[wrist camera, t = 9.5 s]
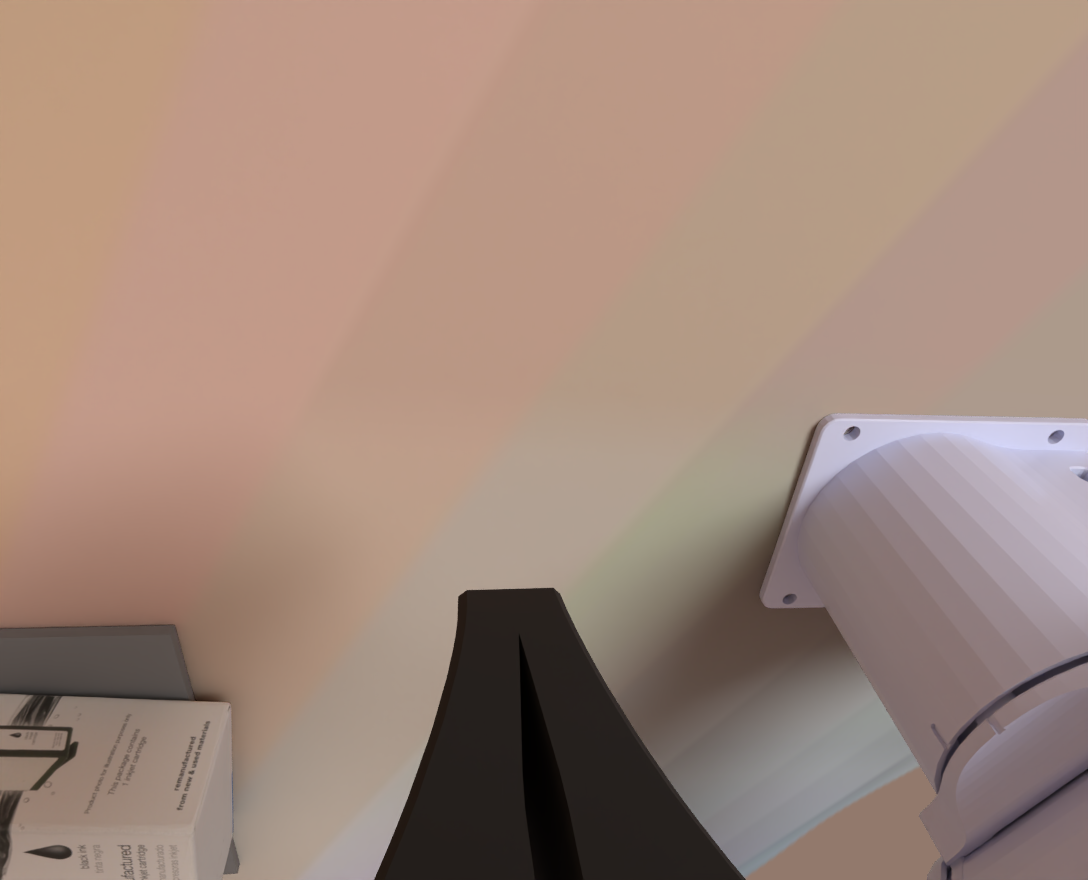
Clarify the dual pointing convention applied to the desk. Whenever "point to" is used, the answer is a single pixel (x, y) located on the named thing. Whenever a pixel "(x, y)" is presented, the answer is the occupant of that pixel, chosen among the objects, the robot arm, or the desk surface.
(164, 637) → the mat
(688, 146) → the desk surface
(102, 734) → the ink box
